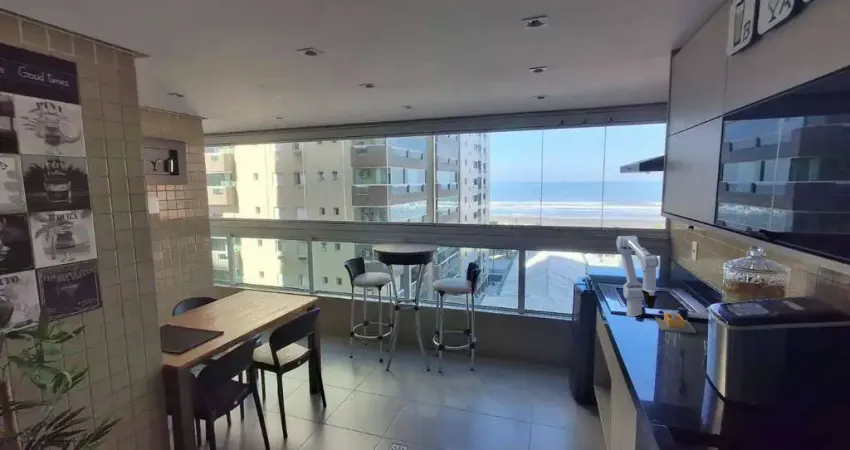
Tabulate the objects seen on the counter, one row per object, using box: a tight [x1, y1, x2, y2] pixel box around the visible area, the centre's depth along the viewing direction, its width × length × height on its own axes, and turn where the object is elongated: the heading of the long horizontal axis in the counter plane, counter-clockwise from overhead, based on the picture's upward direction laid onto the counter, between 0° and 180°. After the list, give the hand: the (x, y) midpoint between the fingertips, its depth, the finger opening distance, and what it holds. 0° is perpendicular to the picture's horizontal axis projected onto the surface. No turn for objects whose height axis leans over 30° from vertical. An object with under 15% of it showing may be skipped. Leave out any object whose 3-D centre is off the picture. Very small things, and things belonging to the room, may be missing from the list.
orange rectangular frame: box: [663, 312, 685, 328], centre depth 198 cm, size 11×7×4 cm, turn 159°
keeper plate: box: [654, 312, 697, 334], centre depth 198 cm, size 20×14×6 cm
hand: (649, 306), depth 201 cm, fingers open, 7 cm apart
